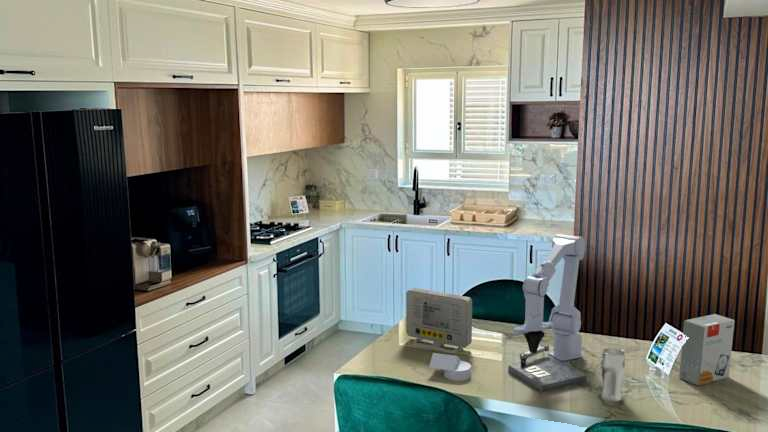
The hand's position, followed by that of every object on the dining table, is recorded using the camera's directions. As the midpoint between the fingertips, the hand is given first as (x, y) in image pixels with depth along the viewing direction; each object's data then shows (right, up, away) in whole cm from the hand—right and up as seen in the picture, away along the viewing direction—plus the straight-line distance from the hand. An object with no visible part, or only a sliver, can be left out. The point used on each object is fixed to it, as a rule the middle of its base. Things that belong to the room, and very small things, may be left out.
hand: (533, 352), depth 220 cm
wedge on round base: (-26, -8, +4) cm, 28 cm away
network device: (-29, -4, +30) cm, 42 cm away
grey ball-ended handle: (+2, -3, +9) cm, 9 cm away
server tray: (+5, -8, +1) cm, 10 cm away
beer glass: (+21, -11, -14) cm, 28 cm away
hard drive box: (+56, -8, 0) cm, 57 cm away
